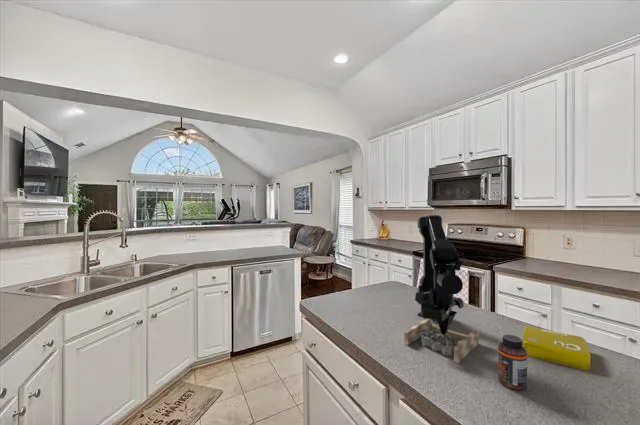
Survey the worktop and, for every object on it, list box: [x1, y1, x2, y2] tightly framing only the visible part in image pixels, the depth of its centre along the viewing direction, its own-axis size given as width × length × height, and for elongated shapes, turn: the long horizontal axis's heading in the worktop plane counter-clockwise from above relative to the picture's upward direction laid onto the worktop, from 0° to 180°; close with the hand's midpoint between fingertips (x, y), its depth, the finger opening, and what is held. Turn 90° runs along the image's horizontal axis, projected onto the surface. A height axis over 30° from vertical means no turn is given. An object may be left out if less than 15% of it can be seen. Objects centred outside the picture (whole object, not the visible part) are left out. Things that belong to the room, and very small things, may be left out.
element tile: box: [521, 326, 592, 371], centre depth 87 cm, size 15×15×5 cm
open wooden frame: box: [403, 318, 480, 364], centre depth 92 cm, size 17×16×4 cm
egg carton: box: [419, 331, 462, 356], centre depth 90 cm, size 11×8×4 cm
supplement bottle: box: [497, 334, 528, 391], centre depth 71 cm, size 6×6×11 cm
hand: (443, 334), depth 93 cm, fingers closed
